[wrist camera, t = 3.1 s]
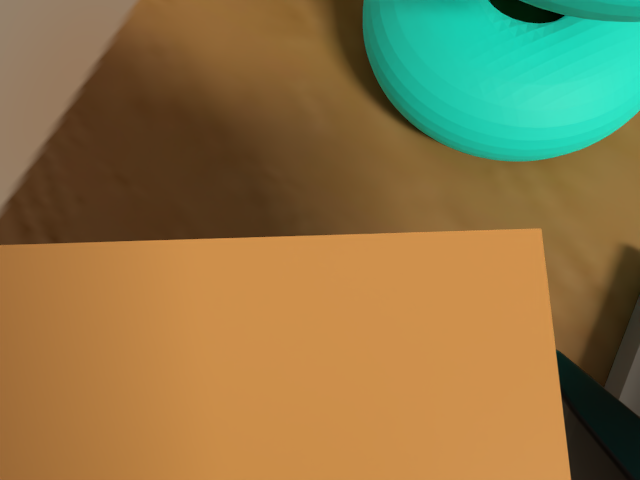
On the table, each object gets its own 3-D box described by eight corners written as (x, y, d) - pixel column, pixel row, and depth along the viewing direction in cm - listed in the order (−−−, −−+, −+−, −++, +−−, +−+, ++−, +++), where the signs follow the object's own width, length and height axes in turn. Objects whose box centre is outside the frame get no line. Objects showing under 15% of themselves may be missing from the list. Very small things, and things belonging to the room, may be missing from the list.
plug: (389, 481, 15) (681, 1422, 2) (232, 482, 15) (-455, 1333, 2) (381, 321, 16) (543, 228, 3) (234, 324, 16) (-219, 252, 3)
